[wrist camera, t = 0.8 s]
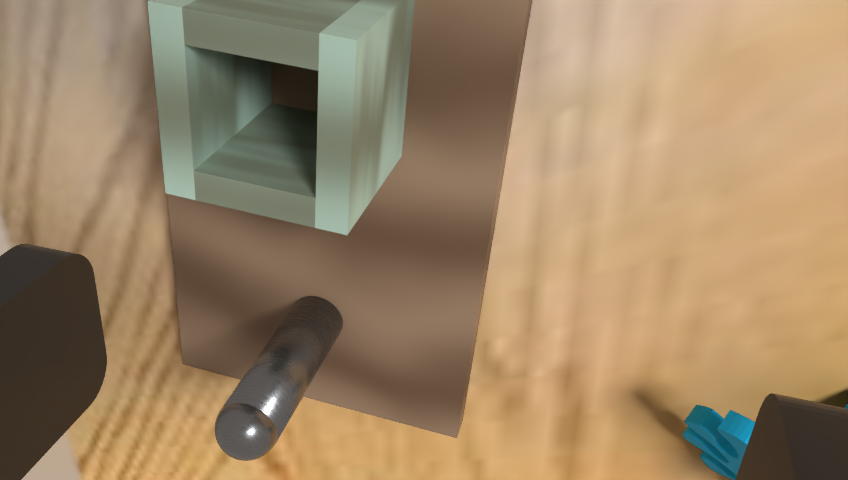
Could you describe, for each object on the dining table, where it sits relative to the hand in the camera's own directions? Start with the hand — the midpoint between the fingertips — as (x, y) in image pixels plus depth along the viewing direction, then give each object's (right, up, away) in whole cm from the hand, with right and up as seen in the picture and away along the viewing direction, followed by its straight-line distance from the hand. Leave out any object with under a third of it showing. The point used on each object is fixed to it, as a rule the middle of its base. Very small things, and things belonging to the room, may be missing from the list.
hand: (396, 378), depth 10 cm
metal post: (-4, -2, +26) cm, 27 cm away
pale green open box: (-3, +8, +20) cm, 22 cm away
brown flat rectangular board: (-4, +4, +24) cm, 25 cm away
